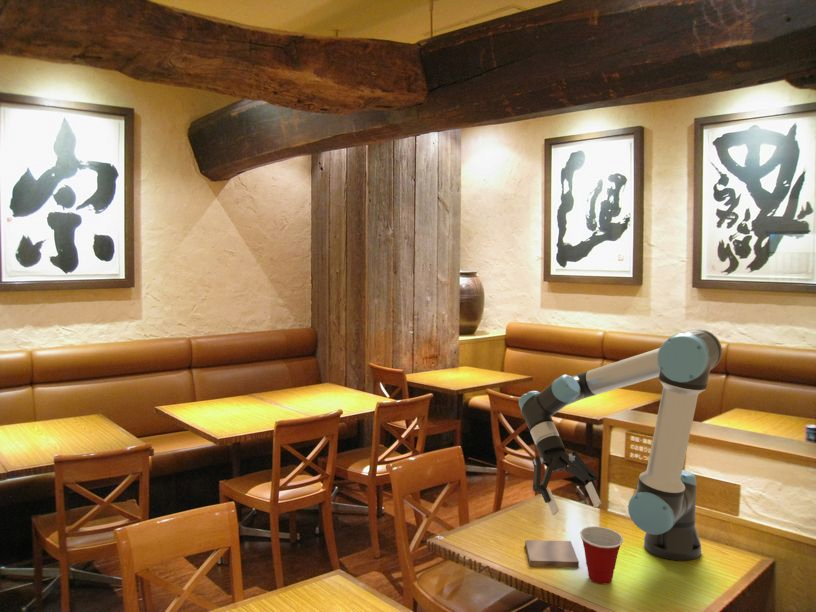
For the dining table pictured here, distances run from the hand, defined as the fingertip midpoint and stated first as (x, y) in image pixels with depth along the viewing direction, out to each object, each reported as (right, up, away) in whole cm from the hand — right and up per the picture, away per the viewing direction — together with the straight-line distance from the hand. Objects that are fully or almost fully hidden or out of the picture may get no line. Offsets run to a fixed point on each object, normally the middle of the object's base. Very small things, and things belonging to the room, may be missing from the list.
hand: (577, 509), depth 184 cm
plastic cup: (+4, -16, -8) cm, 18 cm away
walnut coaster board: (-6, -15, +5) cm, 17 cm away
